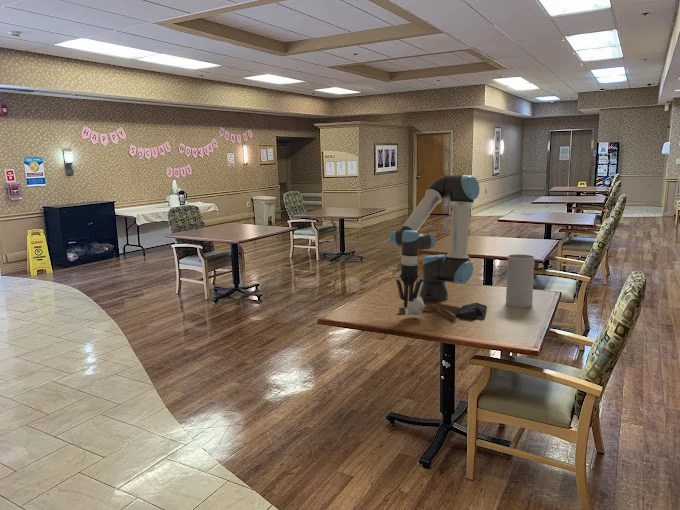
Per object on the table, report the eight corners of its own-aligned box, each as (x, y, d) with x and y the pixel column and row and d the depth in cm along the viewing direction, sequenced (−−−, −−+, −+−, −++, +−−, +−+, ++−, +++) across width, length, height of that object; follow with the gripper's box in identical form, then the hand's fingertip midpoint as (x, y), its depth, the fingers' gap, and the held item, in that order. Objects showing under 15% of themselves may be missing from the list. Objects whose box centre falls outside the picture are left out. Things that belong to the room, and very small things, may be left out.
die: (417, 319, 236) (429, 301, 237) (401, 308, 238) (413, 290, 239) (417, 320, 244) (428, 303, 245) (401, 309, 246) (413, 292, 247)
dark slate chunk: (491, 310, 255) (492, 301, 254) (483, 322, 235) (483, 312, 234) (460, 307, 261) (461, 298, 261) (449, 319, 242) (449, 309, 241)
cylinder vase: (513, 309, 254) (515, 259, 249) (501, 303, 266) (503, 254, 261) (537, 308, 255) (539, 258, 251) (524, 301, 268) (526, 253, 263)
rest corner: (437, 309, 255) (437, 304, 255) (455, 321, 236) (455, 315, 236) (398, 313, 251) (398, 307, 250) (414, 325, 232) (414, 319, 231)
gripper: (419, 262, 242) (417, 311, 246) (393, 263, 239) (391, 312, 243) (425, 265, 235) (423, 315, 239) (399, 266, 232) (397, 317, 236)
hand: (407, 314), depth 241 cm, fingers closed
